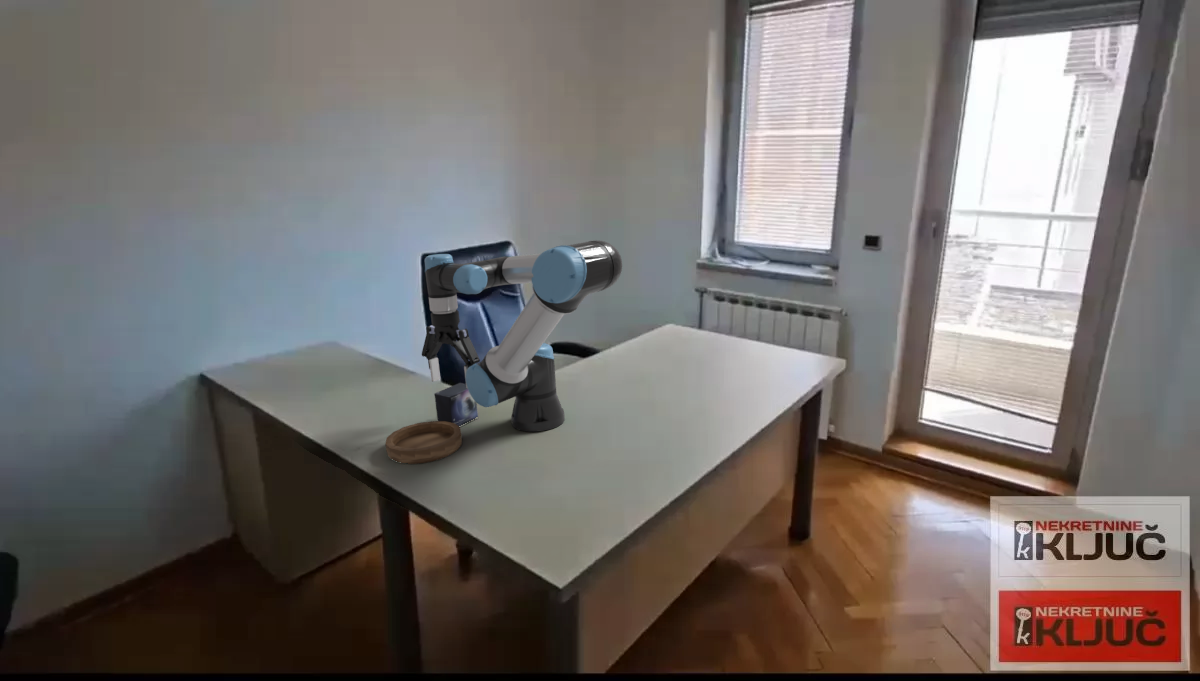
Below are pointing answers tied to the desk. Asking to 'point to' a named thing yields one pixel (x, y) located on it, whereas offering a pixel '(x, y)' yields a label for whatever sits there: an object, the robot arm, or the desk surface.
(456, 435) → the tray
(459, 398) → the small box
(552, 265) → the robot arm
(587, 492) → the desk surface
